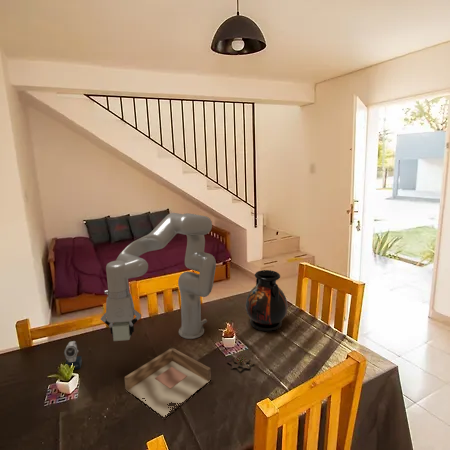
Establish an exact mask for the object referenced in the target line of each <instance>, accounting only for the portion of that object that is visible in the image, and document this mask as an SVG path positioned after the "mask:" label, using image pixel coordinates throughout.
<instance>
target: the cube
mask: <svg viewBox="0 0 450 450" xmlns="http://www.w3.org/2000/svg"><path fill="white" fill-rule="evenodd" d="M129 326H130V324H129V322H114V324H113V327H112V330H113V337H112V339H113V342H118V341H120V342H121V341H129V340H130V339H131V336H130V331H129Z"/></svg>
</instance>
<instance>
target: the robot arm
mask: <svg viewBox="0 0 450 450" xmlns="http://www.w3.org/2000/svg"><path fill="white" fill-rule="evenodd" d="M212 228H213V223H212V220H211V218H210V217H208V216H206V215H202V214H201V215H200V214H195V213H190V212H189V213H188V212H187V213H178V212H171V213H168V214H167V215H165V217H164V218H163V219H162V220H161V221H160V222H159V223H158V224H157V225H156V226H155V227H154V228H153V230H152V231H151V232H149V233H148V234H146V235H144V236H142V237H140V238H137V239H136V240H134V241H132V242H131V243H129V244H128V245H127V246H126V247H125V248H124V249H123V250H122V251H121V252H120V253H119V255H118V256H117V258H116V259H115V260H112V261H110V262H108V263H106V266H105V271H106V280H107V282H106V283H107V289H106V290H104V295H107V296H106V302H105V311H106V312H104V314H103V315H102V316H101V318H100V321H102V322H103V323H105V325H107V326H108V327H109V328H110V329H109V330H110V335H111V334H112V336H111V337H112V338H113V330H112V327H113V324H114V322H129V324H130V326H129V331H130V337H131V336H132V335H133V333H135V327H134V325H135V324H136V323H137V322H138V321H139V320H140V319H141V317H142V314H141V313H140V312H139V311H137V310H136V309H135V304H134V301H133V296H132V294H131V292H130V287H129V279H133V278H138V277H139V278H140V277H142V276H144V275H145V274H146V273H147V272H148V271H149V263H148V262H147V260H146V259H144V258H142V257H140V256H142V255H143V254H146V253H148V252H152V251H158V250H162V249H164V248H165V247H166V246H167V245H168V243H170V242H171V241H172V239H174V237H175V236H176V235H177V234H181V235H184V236H185V235H186V238H187V239H186V249H185V254H184V265H185V266H184V267H186V268H187V269H189V270H192V271H184V272H182V273H181V274H180V275H179V277H178V283H177V284H178V290H179V293H180V307H181V308H180V312H181V315H180V316H181V326H180V327H179V329H178V335H179V336H180V337H182V338H183V339H187V340H192V339H193V340H194V339H198V338H200V337H201V336H202V335H204V333H205V328H204V326H203V325H204V324H206V323H207V322H208V320H207V319H206V318H204V319H202V316H201V315H202V313H201V312H202V311H201V309H202V306H201V297H203V298H206V297H208V296H209V295H210V294H211V293H212V291H213V287H214V281H215V273H216V268H217V262H216V259H215V256H213V254H211V253H209V252H208V253H207V252H205V246H206V239H205V238H206V237H205V235H207V234H209V233H210V232H211V230H212ZM193 271H194V272H193ZM197 272H198V273H197Z"/></svg>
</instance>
